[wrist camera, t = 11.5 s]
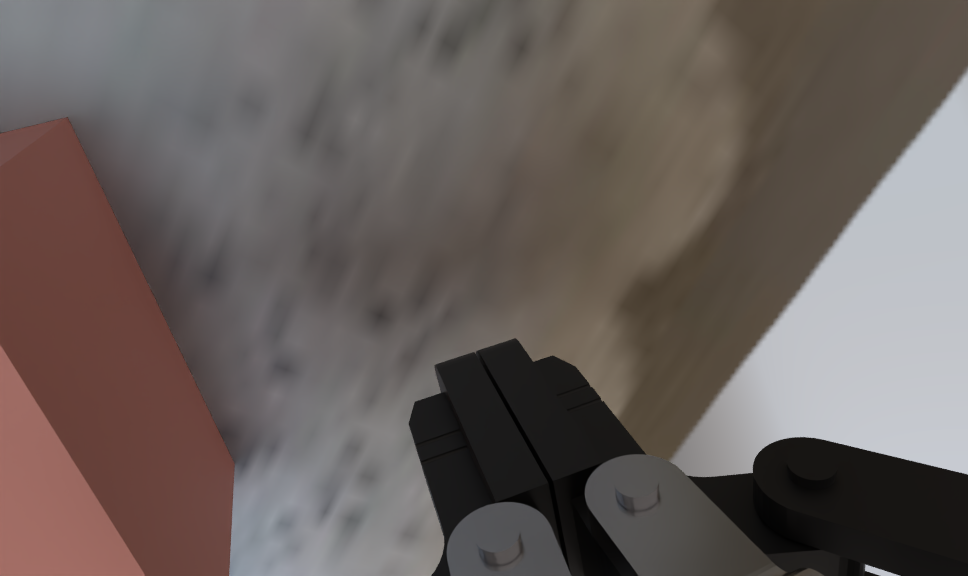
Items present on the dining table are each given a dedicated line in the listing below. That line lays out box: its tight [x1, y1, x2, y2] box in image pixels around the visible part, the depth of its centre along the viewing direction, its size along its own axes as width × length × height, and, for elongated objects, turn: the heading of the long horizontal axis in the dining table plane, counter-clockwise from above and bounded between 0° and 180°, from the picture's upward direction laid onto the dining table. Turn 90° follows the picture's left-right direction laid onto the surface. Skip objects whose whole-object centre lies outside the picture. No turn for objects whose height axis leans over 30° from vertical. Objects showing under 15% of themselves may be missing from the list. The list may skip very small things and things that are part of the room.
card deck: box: [0, 117, 235, 576], centre depth 12 cm, size 9×2×6 cm, turn 11°
